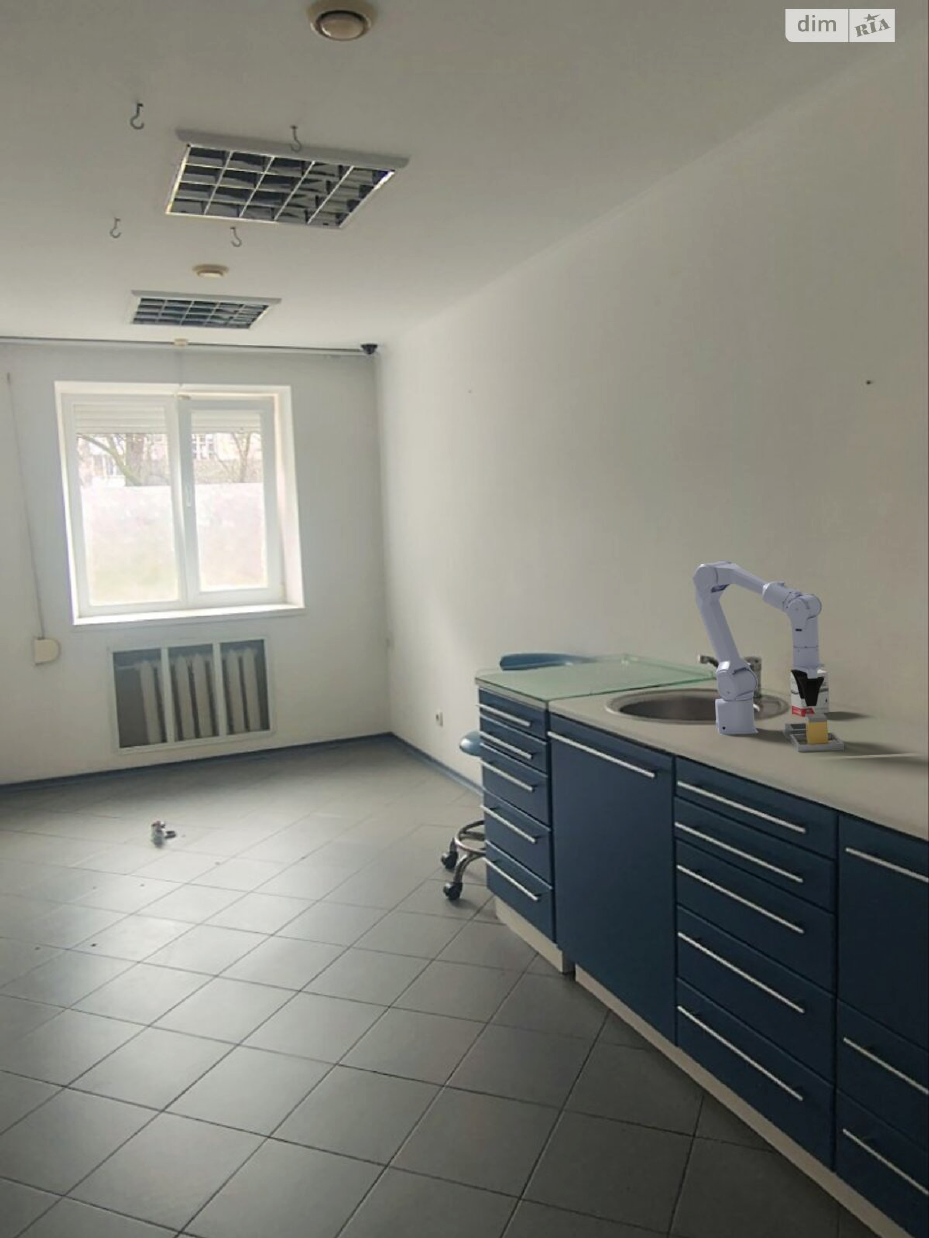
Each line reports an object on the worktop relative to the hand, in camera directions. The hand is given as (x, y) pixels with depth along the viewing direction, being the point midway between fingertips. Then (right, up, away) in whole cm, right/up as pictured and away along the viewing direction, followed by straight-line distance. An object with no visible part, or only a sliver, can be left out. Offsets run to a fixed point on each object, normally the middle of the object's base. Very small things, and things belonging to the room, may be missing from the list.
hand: (808, 702), depth 208 cm
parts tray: (+1, -10, -3) cm, 11 cm away
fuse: (+1, -10, -3) cm, 10 cm away
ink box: (+11, -6, +26) cm, 29 cm away
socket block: (+1, -9, +7) cm, 11 cm away
